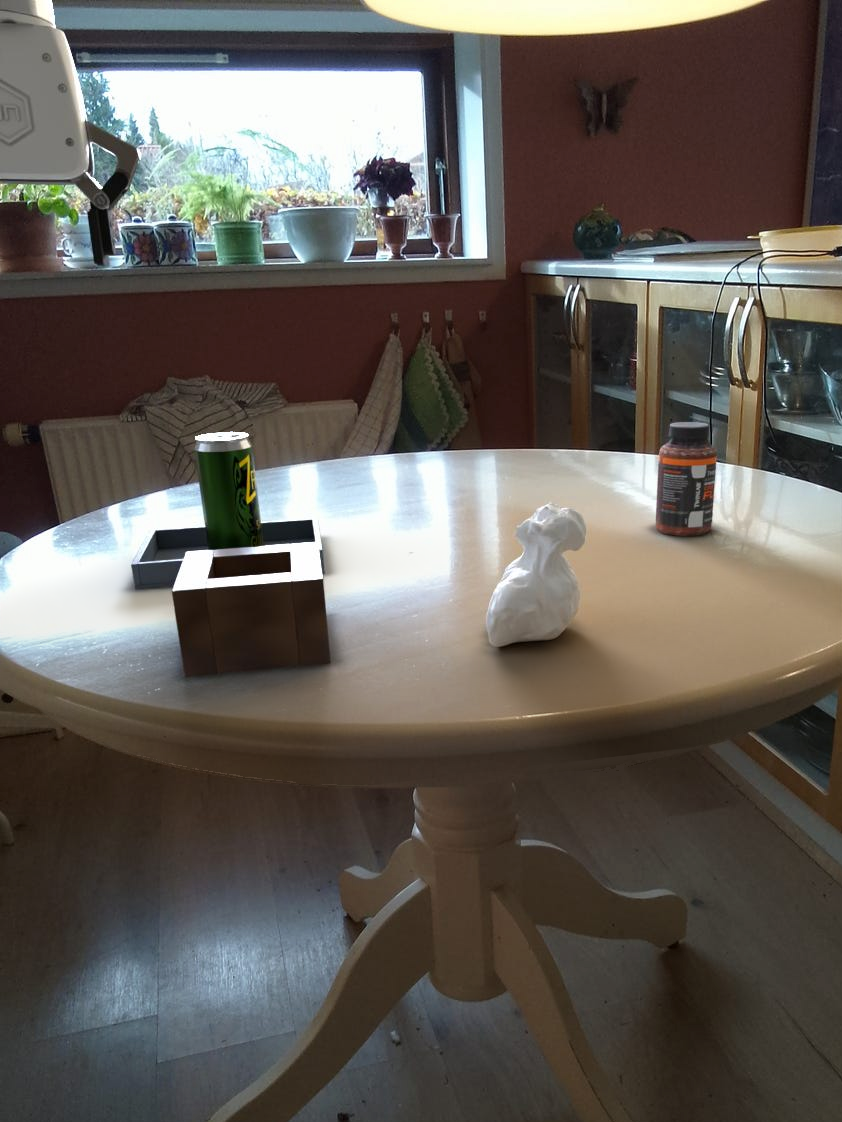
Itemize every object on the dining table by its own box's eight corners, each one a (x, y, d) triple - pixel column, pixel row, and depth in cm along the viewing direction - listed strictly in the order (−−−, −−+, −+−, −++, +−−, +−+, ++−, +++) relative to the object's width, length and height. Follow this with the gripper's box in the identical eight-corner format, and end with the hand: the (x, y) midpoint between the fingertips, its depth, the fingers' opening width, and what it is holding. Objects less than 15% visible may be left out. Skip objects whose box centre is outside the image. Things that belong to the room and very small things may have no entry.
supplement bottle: (712, 539, 96) (719, 428, 92) (653, 537, 97) (658, 428, 93) (711, 525, 101) (718, 420, 97) (656, 523, 102) (660, 419, 98)
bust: (512, 690, 67) (608, 581, 61) (433, 621, 67) (522, 507, 62) (560, 634, 77) (645, 536, 72) (491, 575, 78) (572, 473, 72)
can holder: (184, 678, 65) (171, 591, 63) (197, 629, 74) (185, 551, 72) (331, 664, 67) (323, 578, 64) (325, 618, 76) (318, 541, 74)
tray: (135, 590, 84) (130, 564, 83) (153, 552, 96) (150, 529, 96) (324, 575, 87) (322, 549, 86) (319, 540, 99) (317, 517, 99)
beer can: (205, 567, 89) (188, 442, 85) (213, 552, 94) (197, 433, 90) (262, 564, 90) (248, 439, 85) (267, 549, 95) (253, 430, 90)
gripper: (-160, -15, 61) (-102, 264, 67) (115, 0, 64) (147, 264, 71) (-117, 16, 68) (-67, 266, 74) (130, 29, 71) (158, 267, 77)
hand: (37, 265), depth 72 cm, fingers open, 9 cm apart
